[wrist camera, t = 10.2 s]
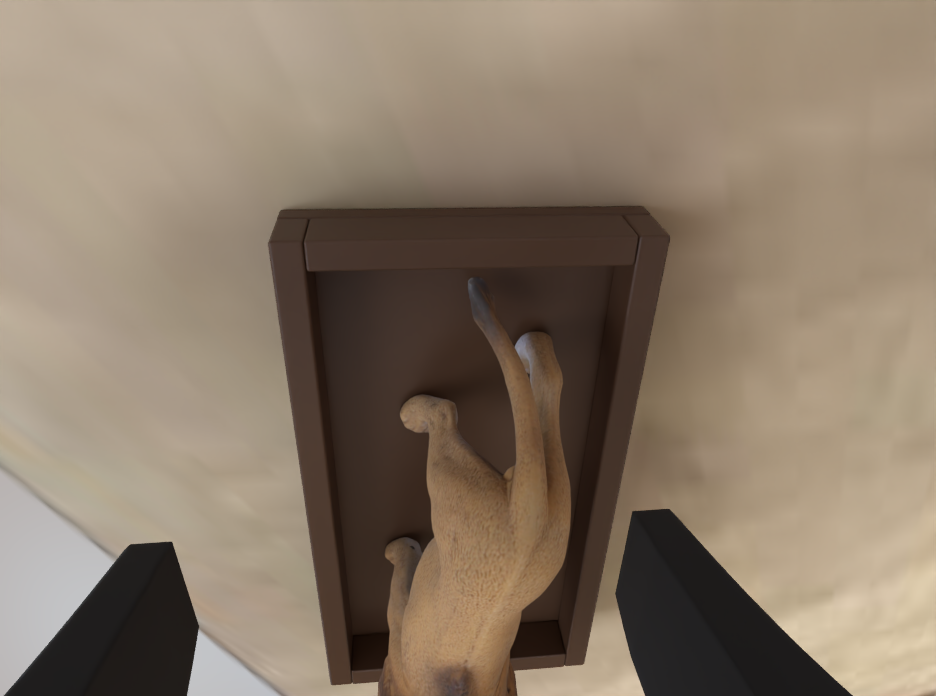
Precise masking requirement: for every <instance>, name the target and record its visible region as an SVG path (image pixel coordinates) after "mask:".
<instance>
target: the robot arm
mask: <svg viewBox="0 0 936 696" xmlns="http://www.w3.org/2000/svg"><path fill="white" fill-rule="evenodd" d="M615 594H616V598H617V602H618V607H619V611H620V615H621V619H622V623H623V628H624V631H625V635H626V639H627V643H628V647H629V651H630V654H631V658H632V661H633V663H634V666H635V669H636V672H637V674H638V677H639V680H640V683H641V685H642V688H643V691H644V693H645V696H852V695H851V694H850V693H849V692H848V691H847V690H846V689H845V688H844V687H842V686H841V685H840V684H839V683H838V682H837V681H836V680H835V679H834V678H833V677H832V676H830V675H829V674H828V673H827V672H826V671H825V670H824V669H823V668H822V667H821V666H820V665H819V664H818V663H817V662H816V661H814V660H813V659H812V658H811V657H810V656H809V655H808V654H807V653H806V652H805V651H804V650H803V649H802V648H801V647H800V646H799V645H798V644H797V643H796V642H795V641H794V640H793V639H792V638H791V637H789V636H788V635H787V634H786V633H785V632H784V631H783V630H782V629H781V628H780V627H779V626H778V625H777V624H776V623H775V621H774V620H773V619H772V618H771V617H770V616H769V615H768V614H767V613H766V612H765V611H764V610H763V609H762V608H761V607H760V606H759V605H758V604H757V603H756V602H755V601H754V600H753V599H752V598H751V597H750V596H749V595H748V594H747V593H746V592H745V591H744V590H743V589H742V588H741V587H740V585H739V584H738V583H737V582H736V581H735V580H734V579H733V578H732V577H731V576H730V575H729V574H728V573H727V572H726V570H725V569H724V568H723V567H722V566H721V565H720V564H719V563H718V562H717V561H716V560H715V559H714V557H713V556H712V555H711V554H710V553H709V552H708V551H707V550H706V549H705V548H704V546H703V545H702V544H701V543H700V542H699V541H698V540H697V539H696V538H695V536H694V535H693V534H692V533H691V532H690V531H689V530H688V529H687V528H686V526H685V525H684V524H683V523H682V522H681V521H680V520H679V519H678V518H677V517H676V515H675V514H674V513H673V512H672V511H671V510H670V509H661V510H646V511H633V512H632V517H631V521H630V526H629V531H628V536H627V541H626V545H625V550H624V555H623V560H622V565H621V569H620V574H619V579H618V584H617V589H616V593H615ZM198 629H199V625H198V622H197V619H196V615H195V612H194V609H193V606H192V603H191V600H190V597H189V594H188V590H187V587H186V584H185V581H184V578H183V575H182V572H181V568H180V565H179V562H178V559H177V556H176V553H175V550H174V546H173V543H172V542H160V543H145V544H130V545H129V546H128V547H127V548H126V549H125V550H124V551H123V553H122V554H121V555H120V556H119V558H118V559H117V560H116V561H115V563H114V564H113V565H112V566H111V567H110V569H109V570H108V571H107V573H106V574H105V575H104V576H103V578H102V579H101V580H100V581H99V583H98V584H97V585H96V586H95V588H94V589H93V590H92V591H91V593H90V594H89V595H88V596H87V597H86V599H85V600H84V601H83V602H82V604H81V605H80V606H79V608H78V609H77V610H76V611H75V612H74V614H73V615H72V616H71V617H70V619H69V620H68V621H67V622H66V623H65V624H64V626H63V627H62V628H61V629H60V631H59V632H58V633H57V634H56V635H55V637H54V638H53V639H52V640H51V641H50V642H49V644H48V645H47V646H46V647H45V648H44V650H43V651H42V652H41V653H40V654H39V655H38V657H37V658H36V659H35V660H34V661H33V663H32V664H31V665H30V666H29V667H28V669H27V670H26V671H25V672H24V673H23V674H22V675H21V677H20V678H19V679H18V680H17V681H16V683H15V684H14V685H13V686H12V687H11V688H10V689H9V690H8V692H7V693H6V694H5V695H4V696H187V692H188V686H189V680H190V676H191V670H192V665H193V659H194V652H195V647H196V641H197V635H198Z"/></svg>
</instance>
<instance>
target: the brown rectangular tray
mask: <svg viewBox="0 0 936 696" xmlns="http://www.w3.org/2000/svg"><path fill="white" fill-rule="evenodd" d="M669 241H670V236H669V234H668V233H667V232H666V231H665V230H664V229H663V228H662V227H661V226H660V225H659V224H658V223H657V221H656V220H655V219H654V218H653V217H652V216H650V213H649V212H648V211H647V210H646V209H645V208H644V207H553V208H454V209H355V210H281V211H280V212H279V215H278V218H277V221H276V224H275V226H274V229H273V232H272V234H271V237H270V240H269V242H268V247H269V254H270V261H271V268H272V275H273V282H274V289H275V296H276V303H277V310H278V317H279V324H280V331H281V338H282V345H283V352H284V359H285V366H286V373H287V381H288V388H289V395H290V402H291V409H292V416H293V423H294V430H295V437H296V444H297V451H298V458H299V465H300V472H301V479H302V486H303V493H304V500H305V507H306V514H307V521H308V528H309V535H310V542H311V549H312V556H313V563H314V570H315V577H316V584H317V591H318V598H319V605H320V612H321V619H322V626H323V633H324V640H325V647H326V654H327V661H328V668H329V675H330V682H331V685H341V684H351V683H352V682H353V684H357V683H369V682H379V679H380V676H381V674H382V671H383V666H384V661H385V658H386V657H387V656H388V650H389V636H390V629H389V625H388V618H387V611H388V604H389V599H390V591H391V581H392V576H393V572H394V564H393V563H391V562H390V561H389V560H388V559H387V558H386V557H385V549H386V546H387V545H388V544H389V543H391V542H392V541H394V540H397V539H399V538H403V537H408V538H410V539H413V540H415V541H417V542H418V543H419V545H420V548H421V552H422V553H423V552H424V550H425V548H426V547H427V545H428V544H429V542H430V541H431V540H432V539H433V538H434V537H435V536H434V533H433V529H432V521H431V499H430V496H429V493H428V488H427V460H428V449H429V432H427V433H425V432H424V433H418V432H414V431H412V430H410V429H407V428H406V427H405V426H404V424H403V422H402V420H401V417H400V411H401V408H402V406H403V405H404V403H405V402H407V401H408V400H409V399H410V398H412V397H414V396H416V395H421V394H424V395H430V396H433V397H437V398H441V399H446V400H449V401H452V402H454V403H455V405H456V408H457V415H458V421H457V428H458V431H459V433H460V435H461V436H462V438H463V439H464V440H465V441H466V442H467V443H468V444H469V445H470V446H472V447H473V448H474V449H475V450H476V451H477V452H478V453H479V454H481V455H482V456H483V457H484V458H485V459H486V460H488V461H489V462H490V463H491V464H492V465H493V466H494V467H495V468H496V469H497V470H498V471H499V472H500V473H501V474H505V472H506V471H507V469H509V468H510V467H512V466H514V465H516V436H515V424H514V417H513V411H512V405H511V400H510V396H509V392H508V389H507V386H506V382H505V377H504V374H503V371H502V368H501V365H500V363H499V360H498V358H497V356H496V354H495V352H494V350H493V348H492V346H491V344H490V343H489V341H488V339H487V338H486V336H485V334H484V333H483V331H482V330H481V329H480V327H479V326H478V325H477V324H476V322H475V321H474V318H473V315H472V308H471V301H470V298H469V292H468V280H469V279H470V278H471V277H480V278H482V279H484V281H485V282H486V283H487V284H488V288H489V290H490V292H491V293H492V295H493V296H494V300H495V309H496V313H497V316H498V318H499V321H500V323H501V325H502V326H503V328H504V329H505V331H506V332H507V334H508V336H509V338H510V340H511V342H512V344H513V345H514V347H515V345H516V343H517V341H518V340H519V339H520V337H521V336H522V335H524V334H526V333H528V332H544V333H546V334H548V335H549V336H550V337H551V339H552V342H553V349H554V353H555V357H556V359H557V362H558V364H559V366H560V369H561V372H562V377H563V385H562V389H561V394H560V405H559V426H560V438H561V443H562V449H563V454H564V459H565V464H566V468H567V472H568V477H569V482H570V489H571V491H570V496H571V520H570V532H569V538H568V544H567V550H566V555H565V559H564V562H563V565H562V567H561V569H560V570H559V572H558V574H557V575H556V576H555V578H554V579H553V581H552V582H551V583H550V585H549V586H548V587H547V589H546V590H545V591H544V592H543V593H542V594H541V595H540V596H539V597H538V598H537V599H535V600H534V601H533V602H532V603H530V604H529V605H528V606H526V607H525V608H524V609H523V610H522V613H521V620H520V624H519V628H518V631H517V634H516V637H515V640H514V643H513V645H512V647H511V649H510V661H511V665H512V667H513V670H514V671H516V670H528V669H540V668H553V667H563V666H564V665H565V666H572V665H583V664H584V661H585V656H586V651H587V646H588V641H589V637H590V632H591V627H592V622H593V617H594V612H595V607H596V602H597V597H598V592H599V587H600V582H601V577H602V572H603V567H604V562H605V557H606V553H607V548H608V543H609V538H610V533H611V528H612V523H613V518H614V513H615V508H616V503H617V498H618V493H619V488H620V483H621V478H622V473H623V468H624V464H625V459H626V454H627V449H628V444H629V439H630V434H631V429H632V424H633V419H634V414H635V409H636V404H637V399H638V394H639V389H640V384H641V380H642V375H643V370H644V365H645V360H646V355H647V350H648V345H649V340H650V335H651V330H652V325H653V320H654V315H655V310H656V305H657V300H658V296H659V291H660V286H661V281H662V276H663V271H664V266H665V261H666V256H667V251H668V246H669ZM527 374H528V373H527ZM528 377H529V379H530V374H528Z"/></svg>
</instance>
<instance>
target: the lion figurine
mask: <svg viewBox="0 0 936 696" xmlns="http://www.w3.org/2000/svg"><path fill="white" fill-rule="evenodd" d="M468 292H469V298H470V301H471V308H472V315H473V318H474V321H475V322H476V324H477V325H478V326H479V327H480V329H481V330H482V331H483V333H484V334H485V336H486V338H487V339H488V341H489V343H490V344H491V346H492V348H493V350H494V352H495V354H496V356H497V358H498V360H499V363H500V365H501V368H502V371H503V374H504V377H505V382H506V386H507V389H508V392H509V396H510V400H511V405H512V411H513V417H514V424H515V436H516V465H514V466H512V467H510V468H509V469H507V471H506V472H505V474H501V473H500V472H499V471H498V470H497V469H496V468H495V467H494V466H493V465H492V464H491V463H490V462H489V461H488V460H486V459H485V458H484V457H483V456H482V455H481V454H479V453H478V452H477V451H476V450H475V449H474V448H473V447H472V446H470V445H469V444H468V443H467V442H466V441H465V440H464V439H463V438H462V436H461V435H460V433H459V431H458V428H457V421H458V415H457V408H456V405H455V403H454V402H452V401H449V400H446V399H441V398H437V397H433V396H430V395H424V394H421V395H416V396H414V397H412V398H410V399H409V400H408V401H407V402H405V403H404V405H403V406H402V408H401V411H400V417H401V420H402V422H403V424H404V426H405V427H406V428H407V429H410V430H412V431H414V432H418V433H424V432H425V433H427V432H429V449H428V460H427V488H428V493H429V496H430V499H431V521H432V529H433V533H434V536H435V537H434V538H433V539H432V540H431V541H430V542H429V544H428V545H427V547H426V548H425V550H424V552H423V553H422V552H421V548H420V545H419V543H418V542H417V541H415V540H413V539H410V538H408V537H403V538H399V539H397V540H394V541H392V542H391V543H389V544H388V545H387V546H386V549H385V557H386V558H387V559H388V560H389V561H390V562H391V563H393V564H394V572H393V576H392V581H391V591H390V599H389V604H388V611H387V618H388V625H389V629H390V636H389V650H388V656H387V657H386V658H385V661H384V666H383V671H382V674H381V676H380V679H379V683H378V696H517V689H516V679H515V673H514V670H513V667H512V665H511V661H510V649H511V647H512V645H513V643H514V640H515V637H516V634H517V631H518V628H519V624H520V620H521V613H522V610H523V609H524V608H525V607H526V606H528V605H529V604H530V603H532V602H533V601H534V600H535V599H537V598H538V597H539V596H540V595H541V594H542V593H543V592H544V591H545V590H546V589H547V587H548V586H549V585H550V583H551V582H552V581H553V579H554V578H555V576H556V575H557V574H558V572H559V570H560V569H561V567H562V565H563V562H564V559H565V555H566V550H567V544H568V538H569V532H570V520H571V496H570V491H571V489H570V482H569V477H568V472H567V468H566V464H565V459H564V454H563V449H562V443H561V438H560V426H559V405H560V394H561V389H562V385H563V377H562V372H561V369H560V366H559V364H558V362H557V359H556V357H555V353H554V349H553V342H552V339H551V337H550V336H549V335H548V334H546V333H544V332H528V333H526V334H524V335H522V336H521V337H520V339H519V340H518V341H517V343H516V345H515V347H514V345H513V344H512V342H511V340H510V338H509V336H508V334H507V332H506V331H505V329H504V328H503V326H502V325H501V323H500V321H499V318H498V316H497V313H496V309H495V300H494V296H493V295H492V293H491V292H490V290H489V288H488V284H487V283H486V282H485V281H484V279H482V278H480V277H471V278H470V279H469V280H468ZM527 373H528V374H530V379H529V377H528V374H527Z"/></svg>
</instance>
